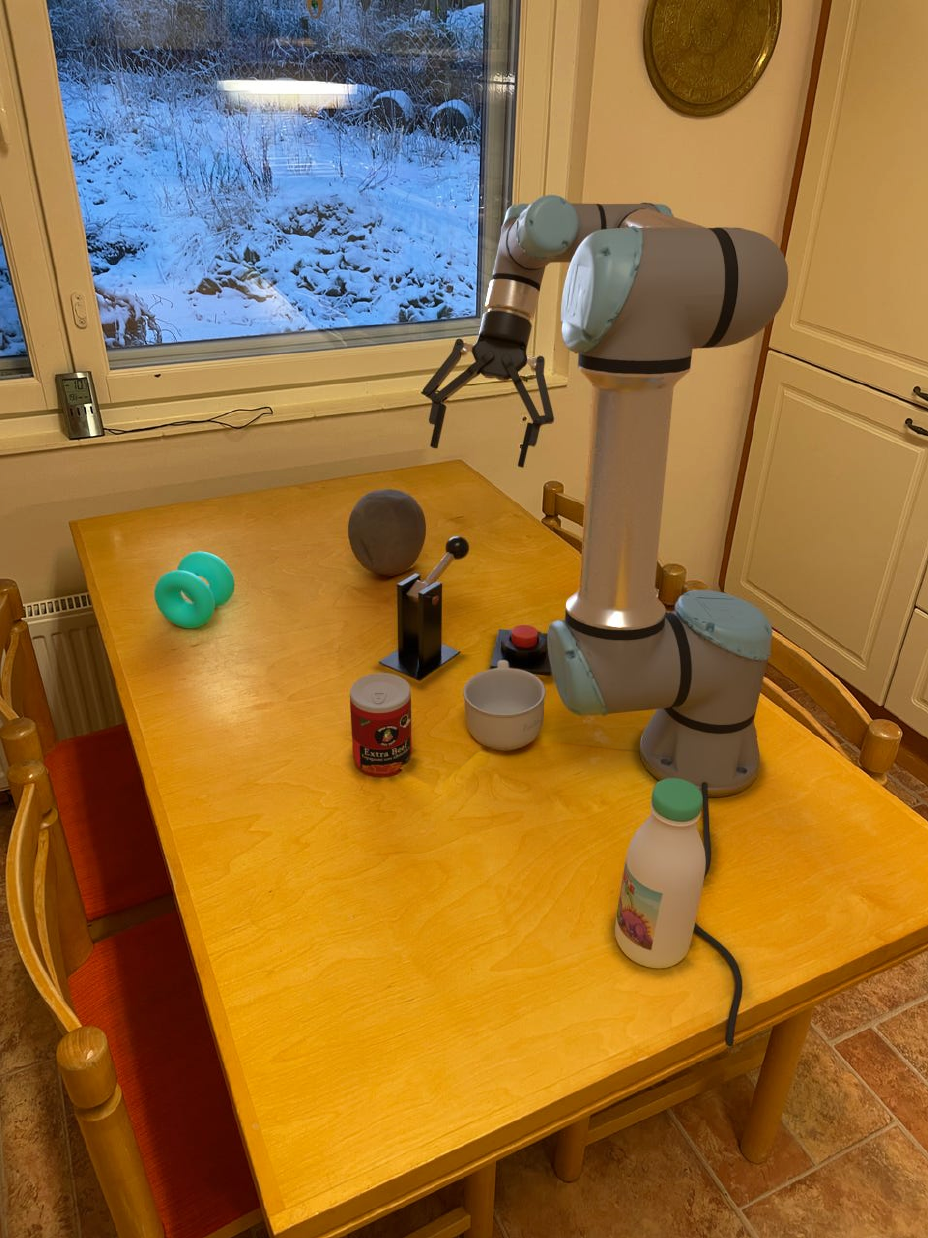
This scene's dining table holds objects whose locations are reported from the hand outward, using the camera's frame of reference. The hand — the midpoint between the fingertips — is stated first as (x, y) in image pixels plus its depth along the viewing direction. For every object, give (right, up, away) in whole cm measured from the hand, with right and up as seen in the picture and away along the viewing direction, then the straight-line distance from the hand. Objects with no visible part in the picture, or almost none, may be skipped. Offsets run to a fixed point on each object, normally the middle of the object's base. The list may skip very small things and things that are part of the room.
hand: (476, 457), depth 137 cm
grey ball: (-16, -16, +28) cm, 35 cm away
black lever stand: (-9, -31, +1) cm, 33 cm away
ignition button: (+7, -28, +1) cm, 29 cm away
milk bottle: (+18, -58, -44) cm, 75 cm away
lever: (-5, -18, -2) cm, 19 cm away
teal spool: (-46, -24, +12) cm, 53 cm away
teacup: (+4, -40, -13) cm, 42 cm away
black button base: (+7, -31, +2) cm, 32 cm away
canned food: (-13, -43, -19) cm, 49 cm away
